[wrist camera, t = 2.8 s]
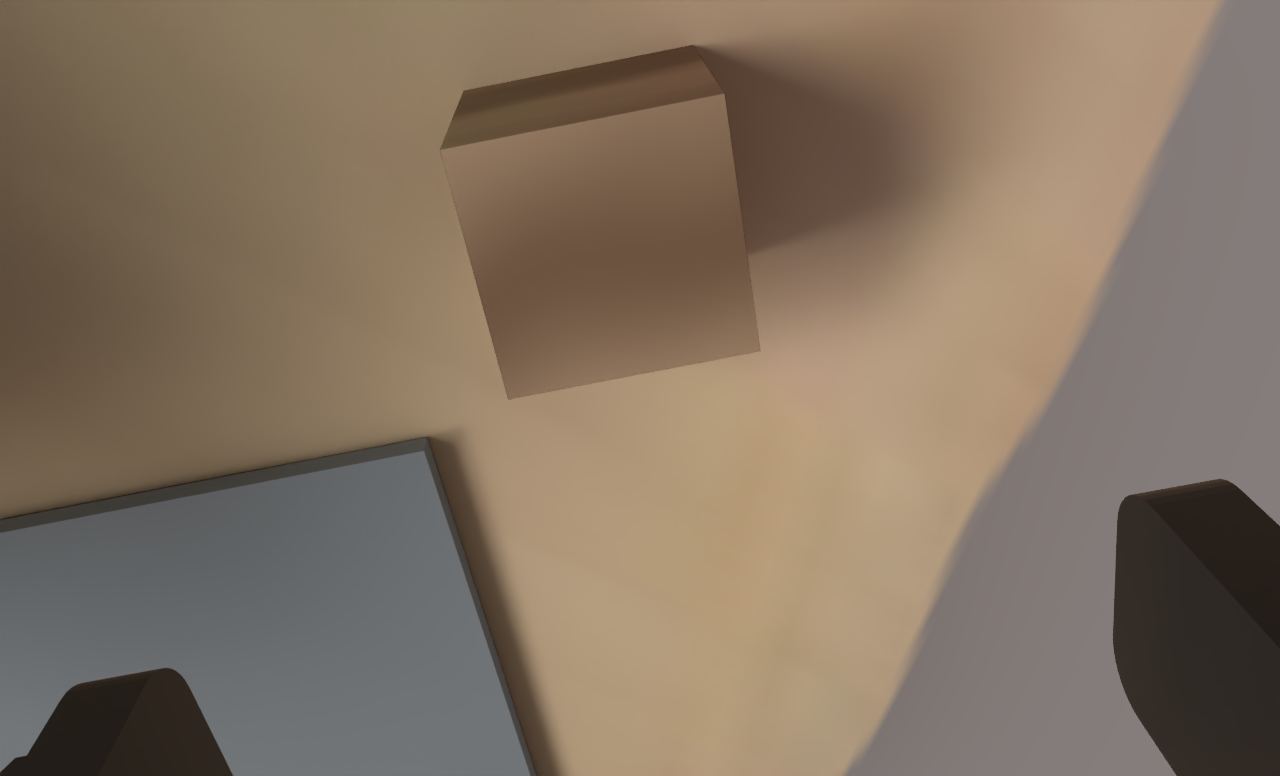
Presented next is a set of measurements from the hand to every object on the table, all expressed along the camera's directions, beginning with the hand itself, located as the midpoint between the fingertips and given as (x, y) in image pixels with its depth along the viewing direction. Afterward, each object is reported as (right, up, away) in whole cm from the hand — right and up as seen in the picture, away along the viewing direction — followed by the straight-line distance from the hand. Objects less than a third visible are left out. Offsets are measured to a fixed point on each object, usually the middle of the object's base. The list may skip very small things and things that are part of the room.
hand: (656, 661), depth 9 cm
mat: (-11, -6, +18) cm, 22 cm away
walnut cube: (-1, +7, +12) cm, 14 cm away
